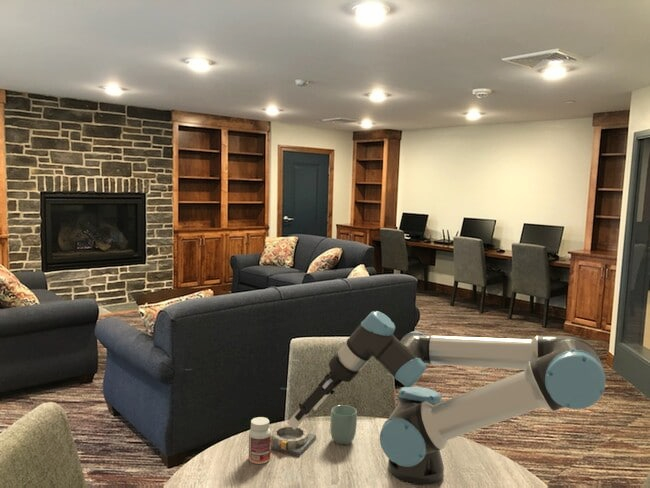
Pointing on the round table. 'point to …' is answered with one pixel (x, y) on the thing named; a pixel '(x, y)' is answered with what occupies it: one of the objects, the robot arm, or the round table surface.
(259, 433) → the pill bottle
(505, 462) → the round table surface
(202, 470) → the round table surface
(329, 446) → the round table surface
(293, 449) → the hub plate
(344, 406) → the cup
